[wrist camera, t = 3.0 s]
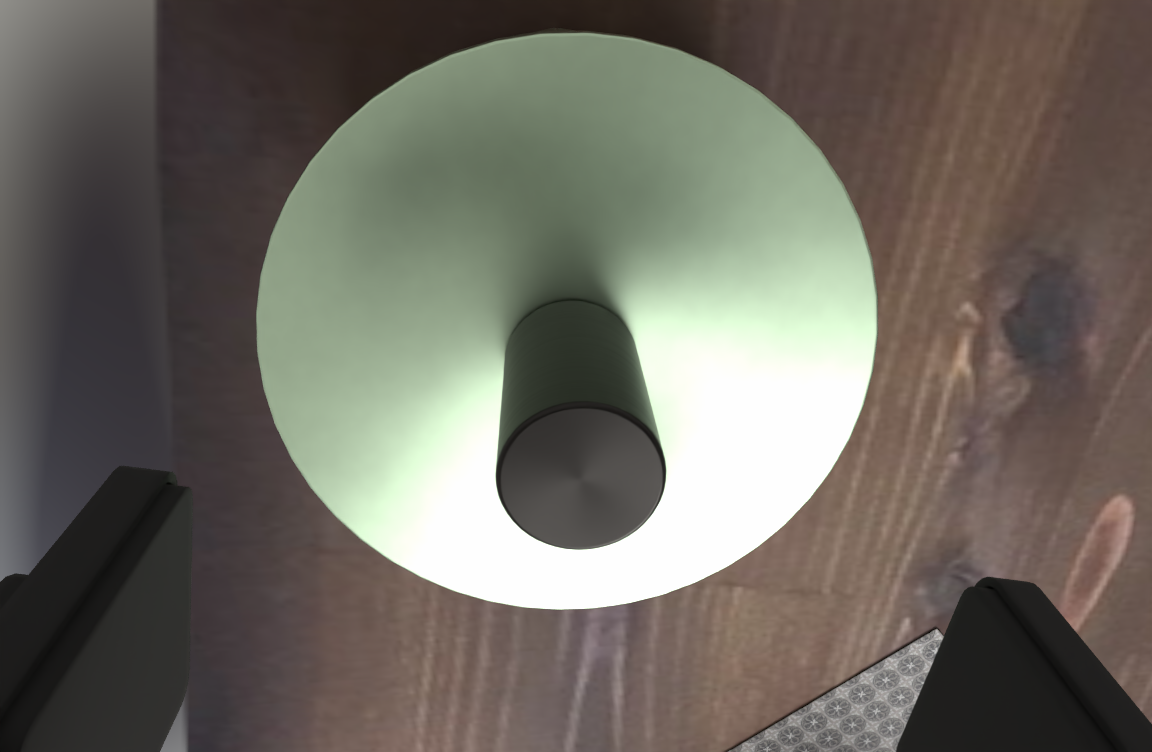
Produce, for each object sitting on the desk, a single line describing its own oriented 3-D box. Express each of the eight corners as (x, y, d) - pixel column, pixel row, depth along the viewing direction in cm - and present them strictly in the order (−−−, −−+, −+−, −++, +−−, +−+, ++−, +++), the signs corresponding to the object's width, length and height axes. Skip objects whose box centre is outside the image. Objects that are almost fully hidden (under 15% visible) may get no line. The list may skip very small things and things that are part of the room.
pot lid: (287, -34, 16) (169, -31, 11) (944, 94, 17) (1116, 151, 12) (258, 544, 21) (167, 736, 16) (772, 609, 22) (843, 805, 17)
